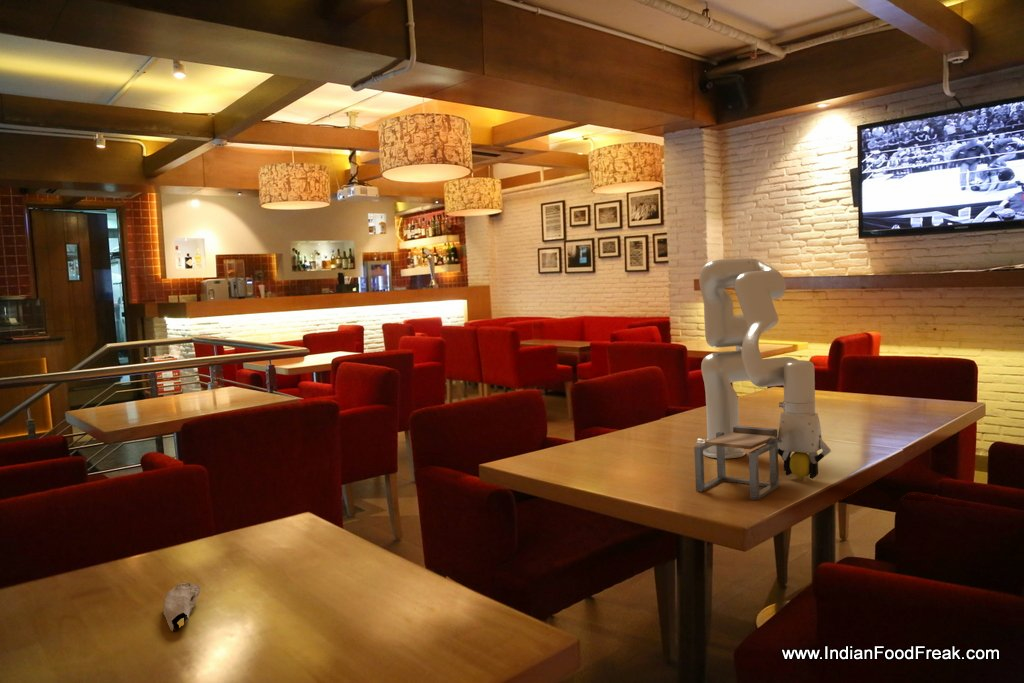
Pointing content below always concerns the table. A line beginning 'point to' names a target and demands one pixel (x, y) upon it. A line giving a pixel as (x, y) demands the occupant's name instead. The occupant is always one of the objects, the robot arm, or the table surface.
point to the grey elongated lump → (180, 601)
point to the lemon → (800, 464)
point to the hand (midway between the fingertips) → (800, 475)
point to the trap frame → (753, 468)
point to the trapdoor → (744, 437)
